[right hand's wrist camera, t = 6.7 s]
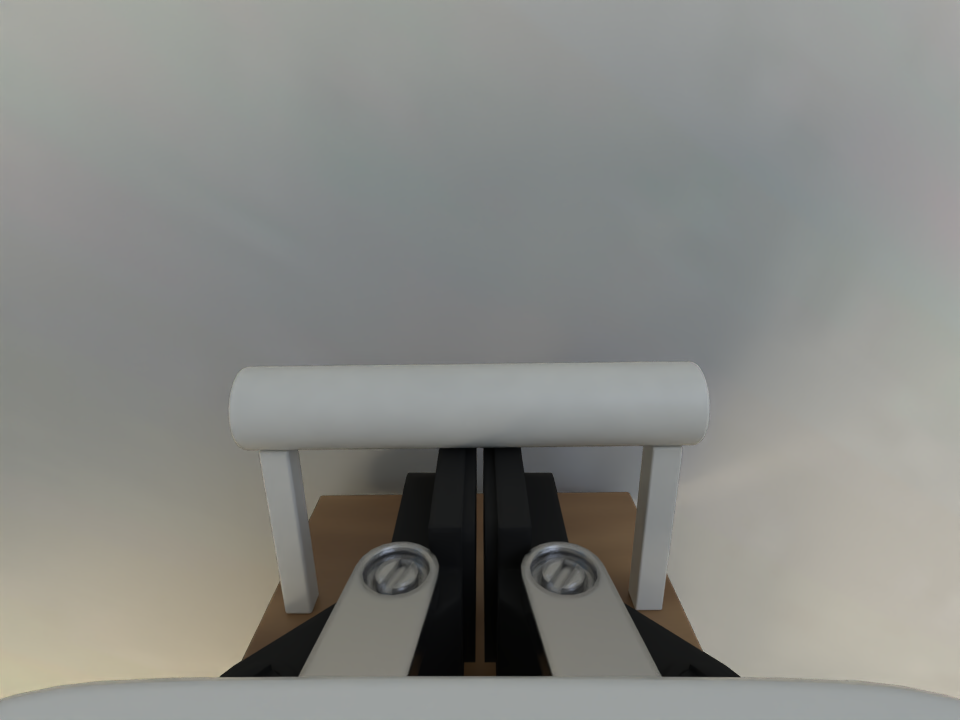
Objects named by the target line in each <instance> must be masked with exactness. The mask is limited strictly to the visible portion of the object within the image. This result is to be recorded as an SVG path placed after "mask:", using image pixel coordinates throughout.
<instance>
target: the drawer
mask: <svg viewBox="0 0 960 720" xmlns="http://www.w3.org/2000/svg"><path fill="white" fill-rule="evenodd" d="M709 415H710V401H709V392H708V386H707V382H706V379H705V376H704V374H703V372H702V370H701V368H700V367H699V366H698V365H697V364H696V363H693V362H691V361H677V362H593V363H509V364H425V365H341V366H257V367H246V368H244V369H242V370H241V371H240V372H239V373H238V374H237V376H236V377H235V379H234V382H233V384H232V387H231V391H230V397H229V406H228V416H229V425H230V430H231V434H232V437H233V439H234V441H235V443H236V444H237V445H238V446H239V447H240V448H242V449H244V450H261V451H260V452H259V459H260V465H261V470H262V476H263V482H264V488H265V494H266V500H267V506H268V511H269V517H270V523H271V529H272V535H273V541H274V547H275V552H276V558H277V564H278V570H279V576H280V582H279V584H278V586H277V588H276V590H275V592H274V594H273V597H272V599H271V601H270V603H269V605H268V607H267V609H266V611H265V613H264V615H263V617H262V619H261V622H260V624H259V626H258V628H257V630H256V632H255V634H254V636H253V638H252V640H251V642H250V644H249V647H248V649H247V651H246V653H245V655H244V657H243V659H242V660H244V659H246V658H247V657H249V656H250V655H252V654H254V653H255V652H257V651H259V650H260V649H262V648H263V647H265V646H267V645H268V644H270V643H271V642H273V641H275V640H276V639H278V638H280V637H281V636H283V635H284V634H286V633H288V632H289V631H291V630H293V629H294V628H296V627H297V626H299V625H301V624H302V623H304V622H305V621H307V620H309V619H310V618H312V617H314V616H315V615H317V614H318V613H320V612H322V611H323V610H325V609H327V608H328V607H330V606H331V605H333V604H335V603H336V602H337V601H338V599H339V597H340V595H341V593H342V591H343V589H344V587H345V585H346V583H347V582H348V580H349V578H350V576H351V574H352V572H353V570H354V568H355V566H356V565H357V563H358V562H359V561H360V559H361V558H362V557H363V556H364V555H365V554H367V553H368V552H369V551H371V550H372V549H374V548H376V547H379V546H381V545H383V544H388V543H391V542H392V537H393V533H394V529H395V524H396V520H397V516H398V511H399V507H400V503H401V498H402V495H328V496H321V497H320V499H319V501H318V503H317V505H316V507H315V509H314V511H313V513H312V515H311V517H310V519H309V521H308V515H307V508H306V501H305V494H304V487H303V480H302V473H301V466H300V459H299V452H298V450H322V449H407V448H493V447H578V446H643V454H642V464H641V473H640V483H639V493H638V503H637V508H636V506H635V504H634V502H633V500H632V497H631V495H630V493H629V492H587V493H557V494H558V499H559V503H560V507H561V512H562V516H563V520H564V525H565V529H566V533H567V538H568V542H569V543H572V544H577V545H579V546H581V547H584V548H586V549H588V550H589V551H591V552H592V553H593V554H595V555H596V556H597V557H598V558H599V559H600V561H601V562H602V563H603V565H604V566H605V568H606V570H607V572H608V574H609V576H610V578H611V580H612V582H613V583H614V585H615V587H616V589H617V591H618V593H619V595H620V597H621V599H622V601H623V602H624V603H625V604H627V605H629V606H630V607H632V608H633V609H635V610H637V611H638V612H640V613H642V614H643V615H645V616H646V617H648V618H650V619H651V620H653V621H654V622H656V623H658V624H659V625H661V626H663V627H664V628H666V629H667V630H669V631H671V632H672V633H674V634H676V635H677V636H679V637H680V638H682V639H684V640H685V641H687V642H688V643H690V644H692V645H693V646H695V647H697V648H698V649H700V650H701V651H702V648H701V646H700V644H699V642H698V640H697V638H696V635H695V633H694V631H693V629H692V627H691V625H690V623H689V620H688V618H687V616H686V614H685V612H684V610H683V607H682V605H681V603H680V601H679V599H678V597H677V595H676V592H675V590H674V588H673V586H672V584H671V582H670V579H669V577H668V575H667V566H668V558H669V550H670V543H671V535H672V528H673V520H674V512H675V505H676V497H677V489H678V482H679V474H680V466H681V459H682V451H683V448H682V446H681V445H696V444H698V443H699V442H701V441H702V439H703V438H704V436H705V434H706V431H707V428H708V423H709ZM464 676H496V663H485V662H484V557H483V494H477V553H476V660H475V662H464Z"/></svg>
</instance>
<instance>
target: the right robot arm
mask: <svg viewBox="0 0 960 720" xmlns="http://www.w3.org/2000/svg"><path fill="white" fill-rule="evenodd" d="M476 553H477V449H476V448H439V454H438V461H437V468H436V473H408V474H407V477H406V481H405V485H404V490H403V494H402V498H401V503H400V507H399V511H398V516H397V520H396V524H395V529H394V533H393V537H392V542H391V543H388V544H383V545H381V546H379V547H376V548H374V549H372V550H371V551H369V552H368V553H367V554H365V555H364V556H363V557H362V558H361V559H360V561H359V562H358V563H357V565H356V566H355V568H354V570H353V572H352V574H351V576H350V578H349V580H348V582H347V583H346V585H345V587H344V589H343V591H342V593H341V595H340V597H339V599H338V601H337V602H336V603H335V604H333V605H331V606H330V607H328V608H327V609H325V610H323V611H322V612H320V613H318V614H317V615H315V616H314V617H312V618H310V619H309V620H307V621H305V622H304V623H302V624H301V625H299V626H297V627H296V628H294V629H293V630H291V631H289V632H288V633H286V634H284V635H283V636H281V637H280V638H278V639H276V640H275V641H273V642H271V643H270V644H268V645H267V646H265V647H263V648H262V649H260V650H259V651H257V652H255V653H254V654H252V655H250V656H249V657H247V658H246V659H244V660H242V661H241V662H239V663H237V664H236V665H234V666H233V667H232V668H230V669H229V670H228V671H226V672H225V673H224V674H222V675H221V676H220V677H201V678H160V679H135V680H111V681H95V682H87V683H78V684H69V685H61V686H55V687H50V688H45V689H40V690H35V691H30V692H26V693H21V694H16V695H12V696H9V697H5V698H2V699H0V720H960V699H958V698H955V697H951V696H948V695H944V694H939V693H934V692H930V691H925V690H920V689H915V688H910V687H905V686H899V685H891V684H882V683H873V682H865V681H848V680H823V679H799V678H745V677H740V676H739V675H738V674H736V673H735V672H734V671H732V670H731V669H730V668H728V667H727V666H726V665H724V664H722V663H721V662H719V661H718V660H716V659H714V658H713V657H711V656H710V655H708V654H706V653H705V652H703V651H701V650H700V649H698V648H697V647H695V646H693V645H692V644H690V643H688V642H687V641H685V640H684V639H682V638H680V637H679V636H677V635H676V634H674V633H672V632H671V631H669V630H667V629H666V628H664V627H663V626H661V625H659V624H658V623H656V622H654V621H653V620H651V619H650V618H648V617H646V616H645V615H643V614H642V613H640V612H638V611H637V610H635V609H633V608H632V607H630V606H629V605H627V604H625V603H624V602H623V601H622V599H621V597H620V595H619V593H618V591H617V589H616V587H615V585H614V583H613V582H612V580H611V578H610V576H609V574H608V572H607V570H606V568H605V566H604V565H603V563H602V562H601V561H600V559H599V558H598V557H597V556H596V555H595V554H593V553H592V552H591V551H589V550H588V549H586V548H584V547H581V546H579V545H577V544H572V543H569V542H568V538H567V533H566V529H565V525H564V520H563V516H562V512H561V507H560V503H559V499H558V494H557V490H556V486H555V481H554V477H553V474H552V473H524V469H523V462H522V455H521V447H493V448H483V557H484V662H485V663H496V676H464V662H475V660H476Z"/></svg>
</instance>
